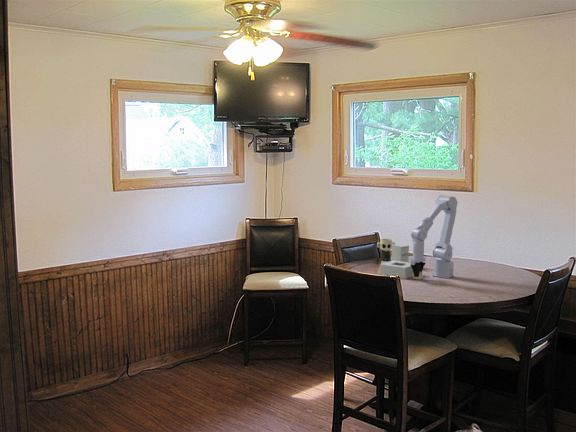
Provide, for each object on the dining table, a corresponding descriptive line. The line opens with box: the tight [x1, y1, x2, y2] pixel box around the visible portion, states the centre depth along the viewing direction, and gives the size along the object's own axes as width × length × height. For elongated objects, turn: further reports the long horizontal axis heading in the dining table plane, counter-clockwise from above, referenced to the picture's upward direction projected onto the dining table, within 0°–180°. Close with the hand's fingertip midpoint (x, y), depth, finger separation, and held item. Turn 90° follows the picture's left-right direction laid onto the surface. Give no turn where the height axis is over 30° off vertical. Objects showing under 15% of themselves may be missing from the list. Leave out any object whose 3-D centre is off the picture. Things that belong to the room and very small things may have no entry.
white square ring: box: [379, 260, 413, 280], centre depth 343 cm, size 15×15×6 cm
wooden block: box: [412, 270, 423, 281], centre depth 332 cm, size 4×3×4 cm
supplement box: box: [390, 243, 410, 262], centre depth 366 cm, size 7×7×13 cm
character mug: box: [376, 238, 396, 261], centre depth 384 cm, size 11×7×13 cm, turn 87°
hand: (417, 276), depth 332 cm, fingers closed on wooden block, 3 cm apart
